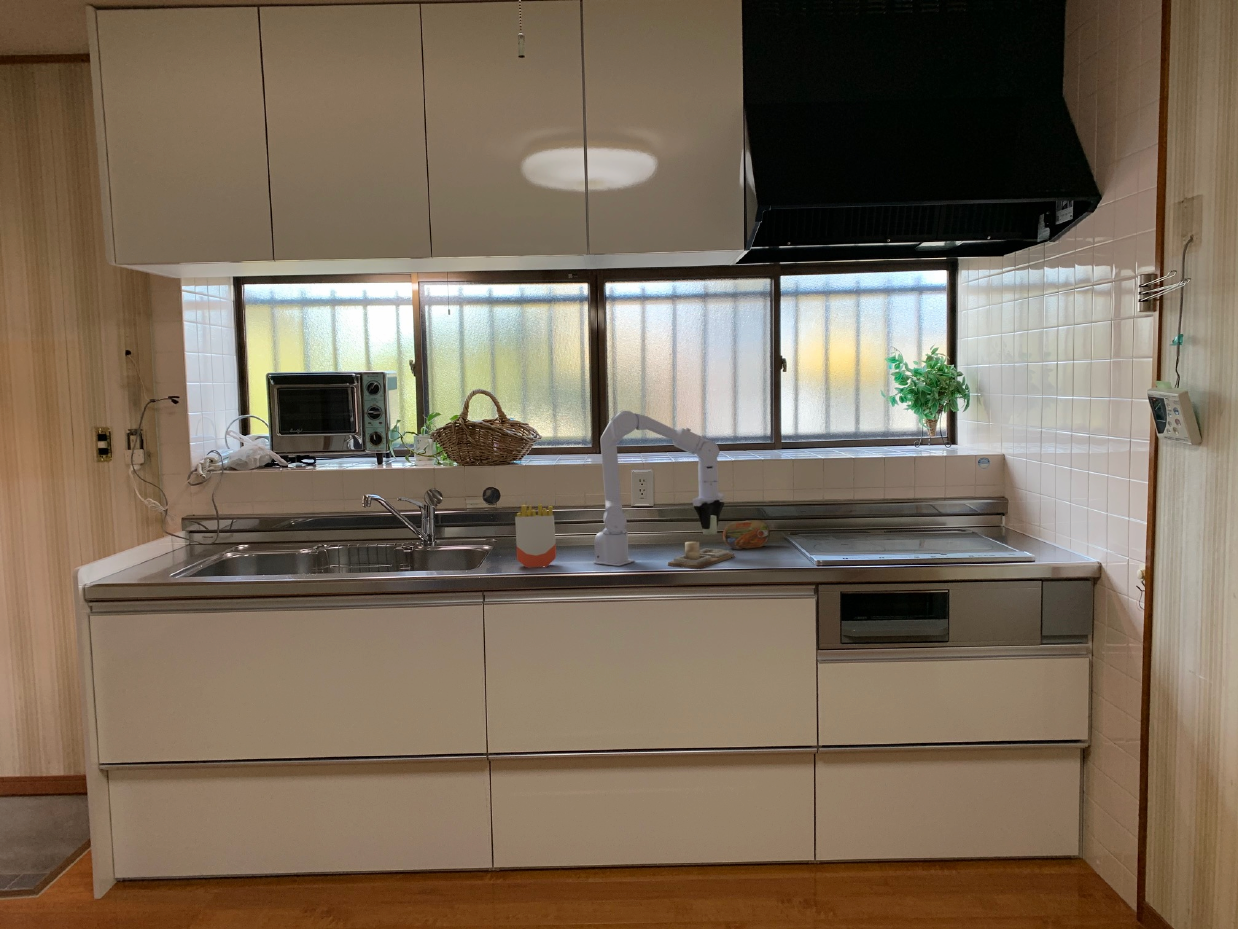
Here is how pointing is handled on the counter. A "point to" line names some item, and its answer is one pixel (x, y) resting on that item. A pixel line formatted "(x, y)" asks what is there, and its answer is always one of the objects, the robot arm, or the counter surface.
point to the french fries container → (535, 537)
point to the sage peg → (711, 526)
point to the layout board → (702, 559)
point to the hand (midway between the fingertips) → (709, 527)
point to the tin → (746, 534)
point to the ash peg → (692, 550)
